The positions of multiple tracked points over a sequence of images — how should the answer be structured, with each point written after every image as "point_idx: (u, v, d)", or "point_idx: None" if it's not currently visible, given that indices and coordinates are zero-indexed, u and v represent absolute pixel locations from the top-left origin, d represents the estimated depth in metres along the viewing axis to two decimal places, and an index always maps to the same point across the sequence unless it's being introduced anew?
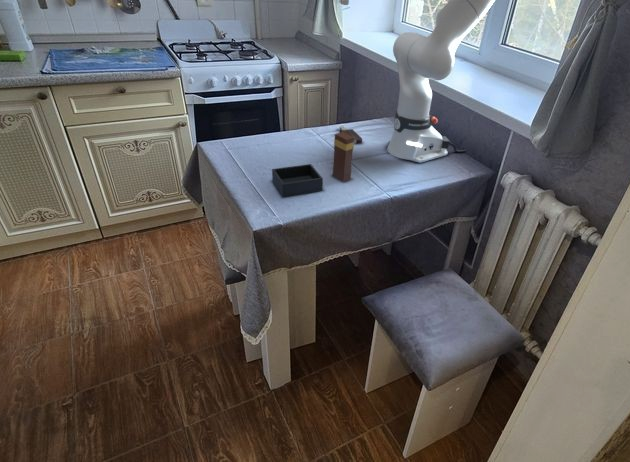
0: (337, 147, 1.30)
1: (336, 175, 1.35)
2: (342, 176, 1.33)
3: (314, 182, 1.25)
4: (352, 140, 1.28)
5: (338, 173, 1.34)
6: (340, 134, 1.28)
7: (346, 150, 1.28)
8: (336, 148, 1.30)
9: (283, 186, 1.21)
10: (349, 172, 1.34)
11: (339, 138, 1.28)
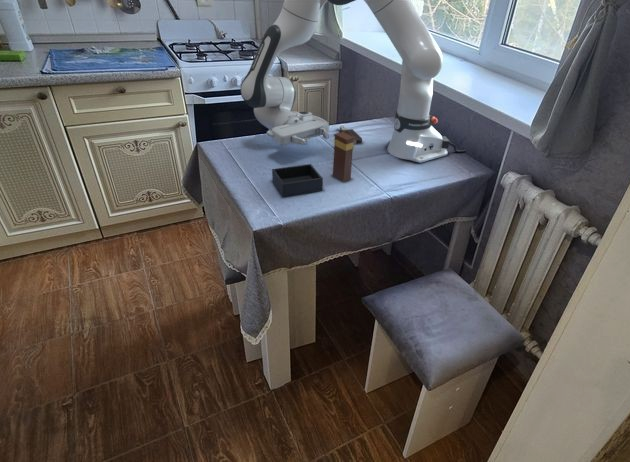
0: (337, 147, 1.30)
1: (336, 175, 1.35)
2: (342, 176, 1.33)
3: (314, 182, 1.25)
4: (352, 140, 1.28)
5: (338, 173, 1.34)
6: (340, 134, 1.28)
7: (346, 150, 1.28)
8: (336, 148, 1.30)
9: (283, 186, 1.21)
10: (349, 172, 1.34)
11: (339, 138, 1.28)
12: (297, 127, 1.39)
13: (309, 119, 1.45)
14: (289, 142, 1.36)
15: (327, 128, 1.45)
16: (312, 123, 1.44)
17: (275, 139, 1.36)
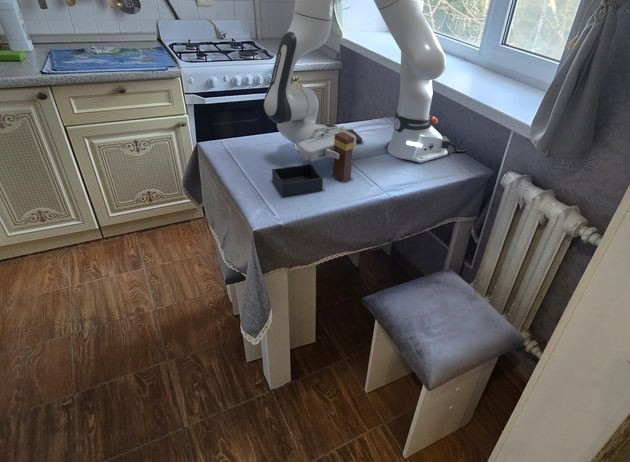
0: (337, 147, 1.30)
1: (336, 175, 1.35)
2: (342, 176, 1.33)
3: (314, 182, 1.25)
4: (352, 140, 1.28)
5: (338, 173, 1.34)
6: (340, 134, 1.28)
7: (346, 150, 1.28)
8: (336, 148, 1.30)
9: (283, 186, 1.21)
10: (349, 172, 1.34)
11: (339, 138, 1.28)
12: (324, 142, 1.32)
13: (335, 133, 1.39)
14: (316, 158, 1.29)
15: (354, 141, 1.39)
16: None
17: (302, 154, 1.29)
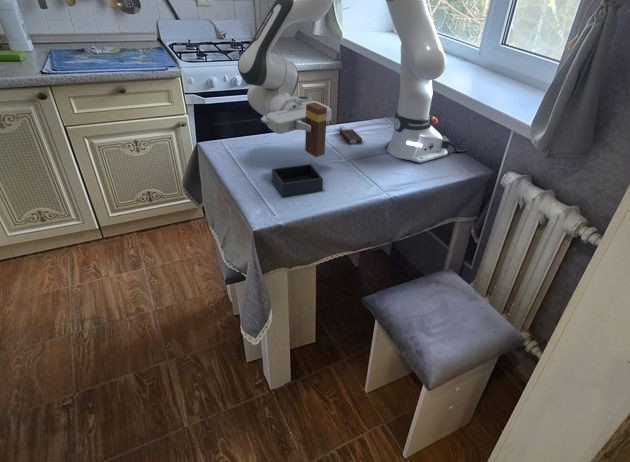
0: (309, 119, 1.20)
1: (308, 150, 1.25)
2: (315, 151, 1.23)
3: (314, 182, 1.25)
4: (325, 111, 1.18)
5: (311, 148, 1.24)
6: (312, 105, 1.18)
7: (318, 122, 1.18)
8: (308, 120, 1.20)
9: (283, 186, 1.21)
10: (323, 147, 1.24)
11: (311, 108, 1.17)
12: (296, 113, 1.22)
13: None
14: (286, 130, 1.19)
15: (330, 115, 1.29)
16: None
17: (270, 126, 1.19)
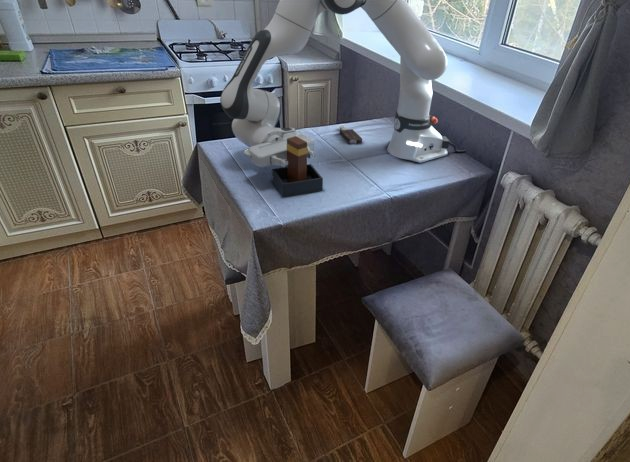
0: (290, 152, 1.22)
1: (290, 181, 1.27)
2: None
3: (314, 182, 1.25)
4: (305, 145, 1.20)
5: (292, 180, 1.26)
6: (293, 139, 1.21)
7: (299, 156, 1.20)
8: (289, 153, 1.23)
9: (283, 186, 1.21)
10: (304, 179, 1.26)
11: (291, 143, 1.20)
12: (278, 146, 1.25)
13: (292, 136, 1.31)
14: (268, 163, 1.22)
15: (312, 146, 1.31)
16: None
17: (253, 160, 1.22)
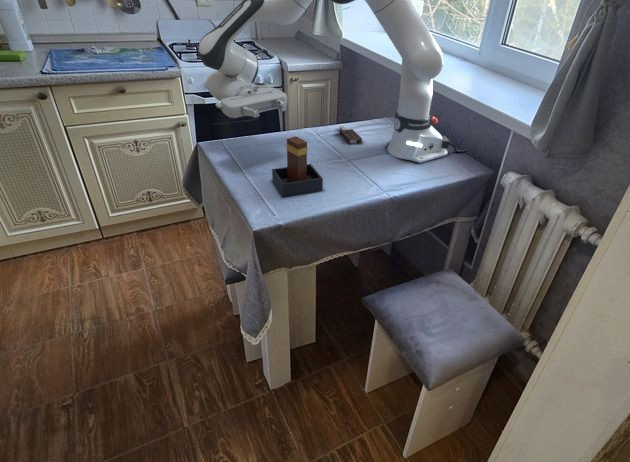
0: (290, 152, 1.22)
1: (290, 181, 1.27)
2: None
3: (314, 182, 1.25)
4: (305, 145, 1.20)
5: (292, 180, 1.26)
6: (293, 139, 1.21)
7: (299, 156, 1.20)
8: (289, 153, 1.23)
9: (283, 186, 1.21)
10: (304, 179, 1.26)
11: (291, 143, 1.20)
12: (250, 99, 1.26)
13: (265, 91, 1.32)
14: (240, 114, 1.22)
15: (285, 100, 1.32)
16: (268, 94, 1.30)
17: (224, 111, 1.23)
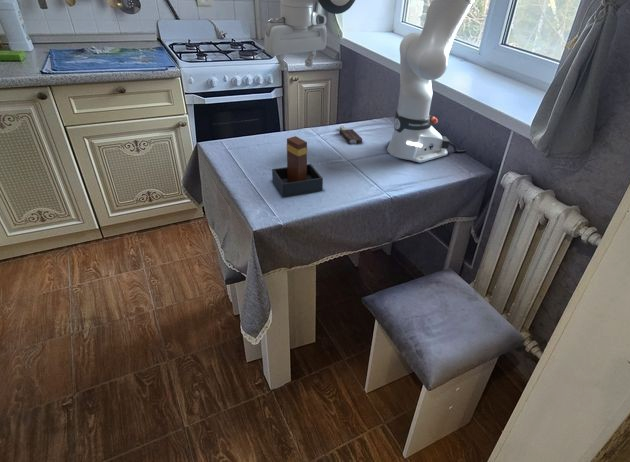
0: (290, 152, 1.22)
1: (290, 181, 1.27)
2: None
3: (314, 182, 1.25)
4: (305, 145, 1.20)
5: (292, 180, 1.26)
6: (293, 139, 1.21)
7: (299, 156, 1.20)
8: (289, 153, 1.23)
9: (283, 186, 1.21)
10: (304, 179, 1.26)
11: (291, 143, 1.20)
12: (295, 43, 1.21)
13: (316, 30, 1.24)
14: None
15: None
16: (313, 39, 1.25)
17: (266, 39, 1.17)
